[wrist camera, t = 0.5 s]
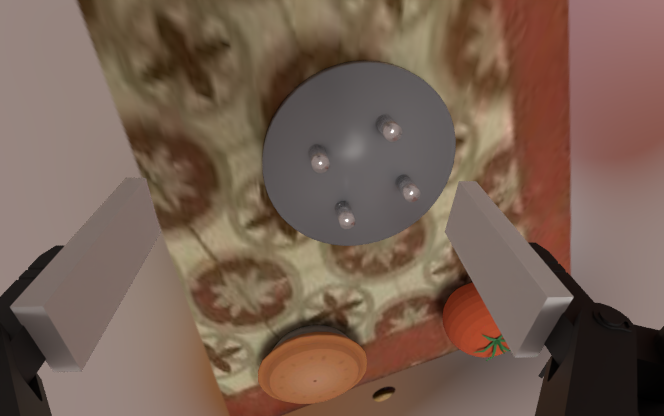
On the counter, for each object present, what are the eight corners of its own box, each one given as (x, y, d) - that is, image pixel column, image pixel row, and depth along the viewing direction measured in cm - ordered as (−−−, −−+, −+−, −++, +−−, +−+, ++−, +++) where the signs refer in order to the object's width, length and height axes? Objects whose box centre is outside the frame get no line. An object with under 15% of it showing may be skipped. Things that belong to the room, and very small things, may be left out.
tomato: (510, 268, 49) (560, 325, 41) (480, 318, 54) (519, 378, 46) (447, 263, 47) (486, 322, 39) (421, 316, 52) (451, 379, 43)
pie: (378, 321, 51) (387, 350, 47) (340, 384, 58) (345, 414, 54) (275, 306, 46) (276, 337, 42) (247, 377, 53) (245, 410, 49)
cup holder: (304, 22, 29) (309, 26, 26) (485, 106, 36) (510, 119, 32) (239, 213, 38) (235, 238, 34) (394, 253, 44) (406, 277, 41)
